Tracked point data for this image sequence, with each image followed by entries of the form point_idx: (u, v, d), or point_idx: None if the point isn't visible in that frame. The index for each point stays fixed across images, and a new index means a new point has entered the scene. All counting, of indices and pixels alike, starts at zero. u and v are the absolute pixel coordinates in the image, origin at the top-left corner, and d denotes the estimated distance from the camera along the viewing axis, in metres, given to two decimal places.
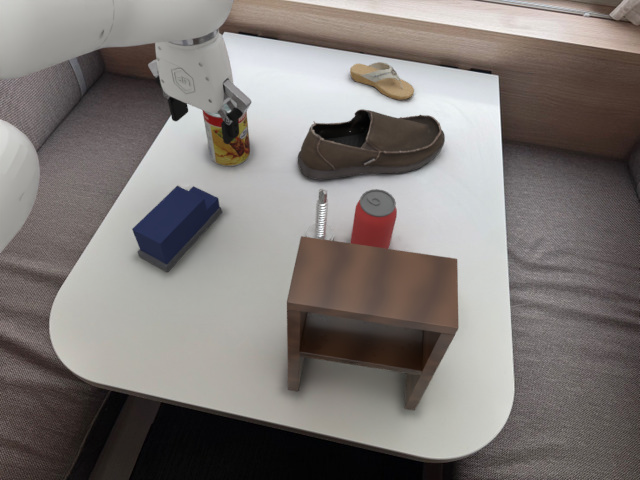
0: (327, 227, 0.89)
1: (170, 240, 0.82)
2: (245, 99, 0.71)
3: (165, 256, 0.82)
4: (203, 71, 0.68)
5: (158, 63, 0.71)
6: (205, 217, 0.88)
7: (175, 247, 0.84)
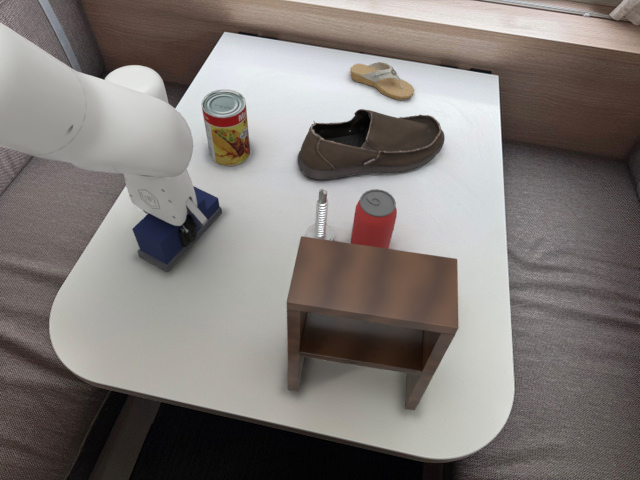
0: (327, 227, 0.89)
1: (170, 240, 0.82)
2: (203, 219, 0.79)
3: (165, 256, 0.82)
4: (166, 195, 0.74)
5: (126, 182, 0.77)
6: None
7: (175, 247, 0.84)
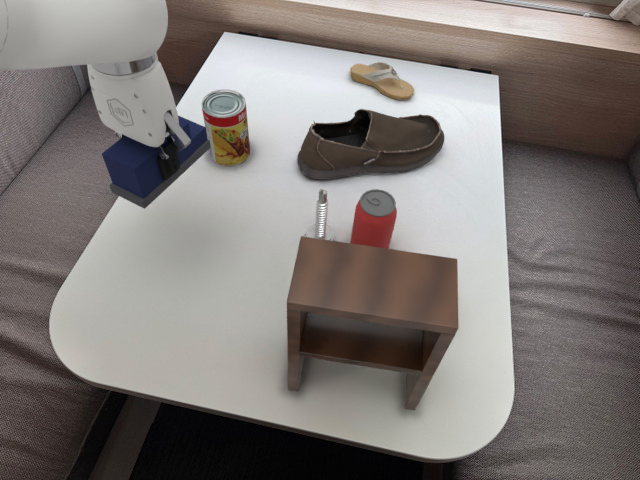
0: (327, 227, 0.89)
1: (148, 168, 0.69)
2: (185, 139, 0.66)
3: (142, 188, 0.69)
4: (139, 103, 0.61)
5: (93, 93, 0.65)
6: (190, 148, 0.76)
7: (153, 178, 0.71)
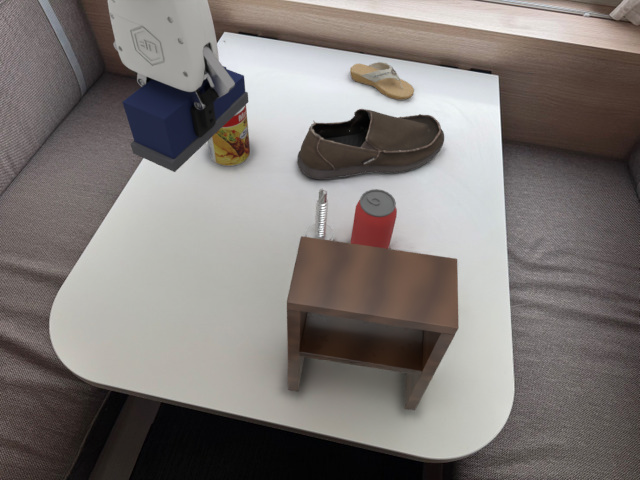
0: (327, 227, 0.89)
1: (179, 120, 0.56)
2: (228, 81, 0.53)
3: (172, 145, 0.56)
4: (174, 30, 0.48)
5: (113, 22, 0.51)
6: (227, 100, 0.62)
7: (186, 134, 0.58)
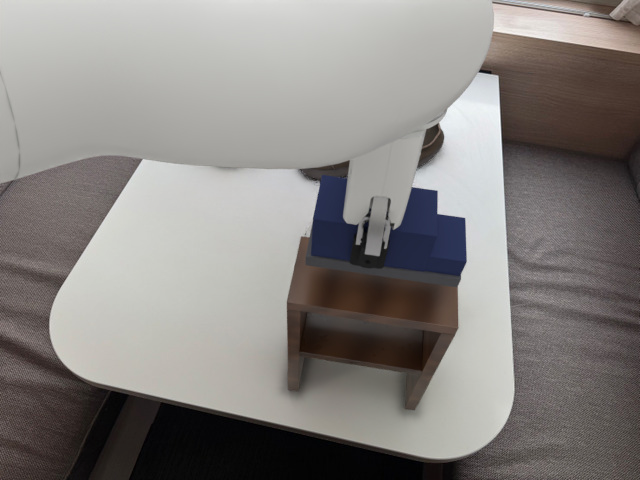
0: None
1: (335, 233, 0.47)
2: (373, 246, 0.41)
3: (314, 244, 0.49)
4: None
5: None
6: (420, 263, 0.49)
7: (338, 249, 0.49)
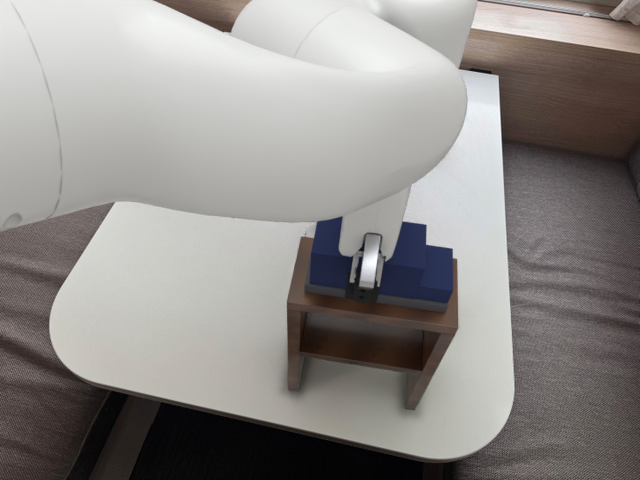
0: None
1: (331, 264, 0.51)
2: (367, 277, 0.42)
3: (312, 274, 0.53)
4: None
5: None
6: (411, 292, 0.53)
7: (334, 278, 0.53)
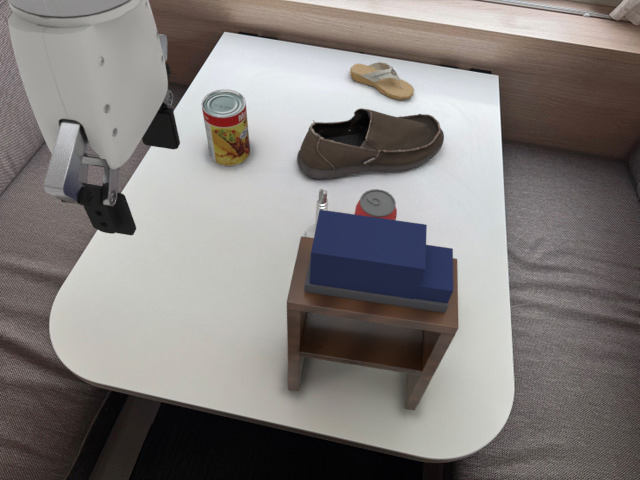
0: None
1: (331, 264, 0.51)
2: (54, 179, 0.30)
3: (312, 274, 0.53)
4: None
5: None
6: (411, 292, 0.53)
7: (334, 278, 0.53)
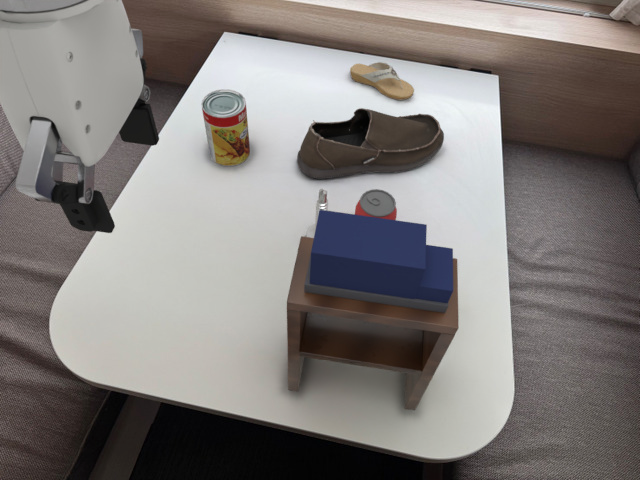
0: None
1: (331, 264, 0.51)
2: (26, 177, 0.30)
3: (312, 274, 0.53)
4: None
5: None
6: (411, 292, 0.53)
7: (334, 278, 0.53)
